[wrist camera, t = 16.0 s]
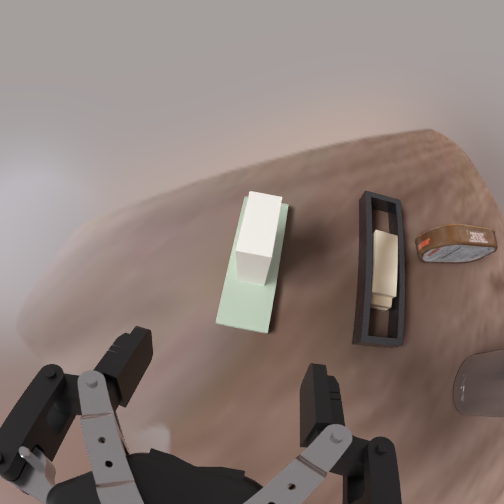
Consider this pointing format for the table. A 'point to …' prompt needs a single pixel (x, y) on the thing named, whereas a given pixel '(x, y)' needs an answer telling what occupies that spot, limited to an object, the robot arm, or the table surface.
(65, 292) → the table surface
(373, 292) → the offcut stack
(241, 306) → the board
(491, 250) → the tin
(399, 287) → the frame
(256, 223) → the white rectangular block
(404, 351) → the table surface
